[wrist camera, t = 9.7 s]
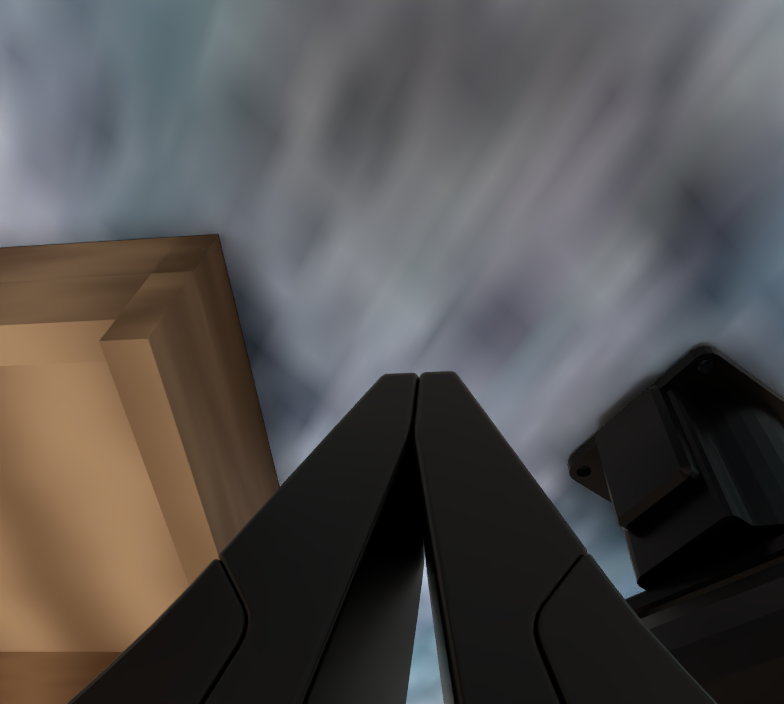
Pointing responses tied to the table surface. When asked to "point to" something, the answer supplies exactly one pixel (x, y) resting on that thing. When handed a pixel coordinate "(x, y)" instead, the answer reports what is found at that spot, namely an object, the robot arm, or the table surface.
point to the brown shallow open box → (115, 447)
